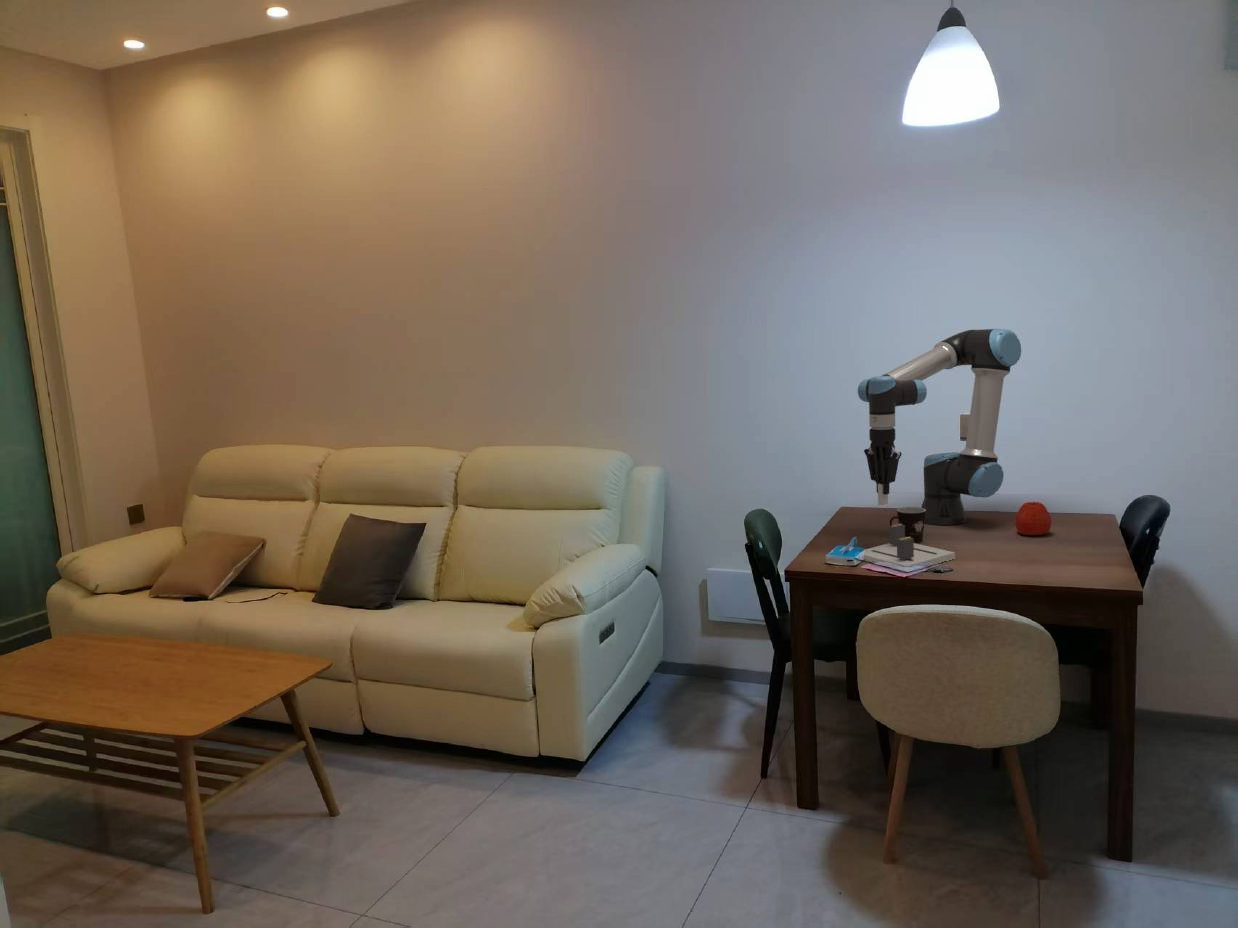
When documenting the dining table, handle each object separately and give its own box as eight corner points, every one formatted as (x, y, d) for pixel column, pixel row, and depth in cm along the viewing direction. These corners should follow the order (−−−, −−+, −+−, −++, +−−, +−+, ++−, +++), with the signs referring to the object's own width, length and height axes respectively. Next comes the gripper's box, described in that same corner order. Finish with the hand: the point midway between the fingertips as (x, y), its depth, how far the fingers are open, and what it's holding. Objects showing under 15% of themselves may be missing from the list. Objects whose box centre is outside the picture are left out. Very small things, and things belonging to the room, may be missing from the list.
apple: (1028, 539, 270) (1029, 506, 268) (1007, 532, 280) (1007, 500, 278) (1058, 535, 272) (1058, 502, 270) (1036, 528, 282) (1036, 496, 280)
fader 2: (906, 555, 253) (906, 536, 252) (913, 556, 251) (913, 537, 250) (897, 557, 251) (896, 538, 250) (904, 559, 249) (903, 540, 248)
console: (900, 546, 272) (900, 539, 272) (955, 559, 255) (955, 552, 254) (854, 558, 262) (854, 551, 262) (907, 573, 245) (907, 565, 245)
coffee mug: (922, 537, 281) (922, 506, 279) (929, 543, 273) (928, 512, 271) (885, 538, 282) (884, 508, 281) (890, 545, 274) (890, 514, 272)
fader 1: (898, 541, 268) (898, 523, 268) (904, 542, 266) (904, 524, 265) (889, 543, 267) (888, 525, 266) (895, 545, 264) (895, 526, 263)
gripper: (857, 427, 269) (858, 503, 272) (890, 430, 258) (890, 509, 261) (874, 425, 272) (875, 499, 276) (908, 428, 261) (908, 505, 265)
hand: (883, 504), depth 269 cm, fingers closed
